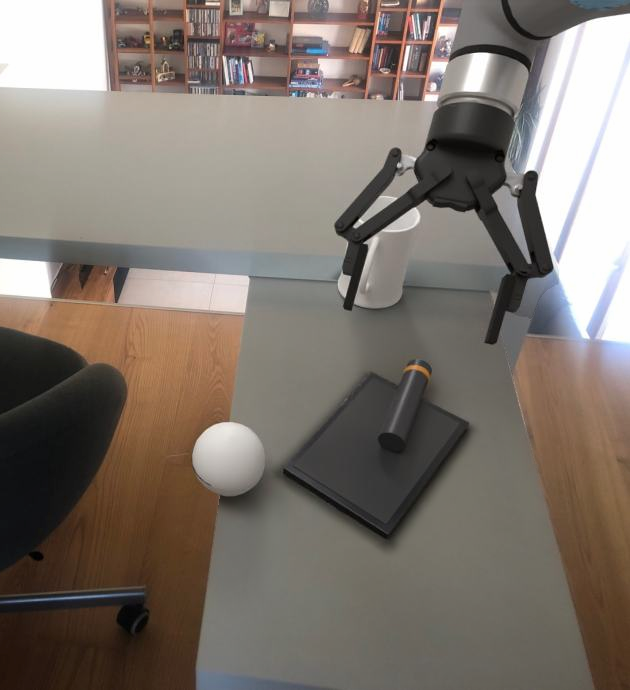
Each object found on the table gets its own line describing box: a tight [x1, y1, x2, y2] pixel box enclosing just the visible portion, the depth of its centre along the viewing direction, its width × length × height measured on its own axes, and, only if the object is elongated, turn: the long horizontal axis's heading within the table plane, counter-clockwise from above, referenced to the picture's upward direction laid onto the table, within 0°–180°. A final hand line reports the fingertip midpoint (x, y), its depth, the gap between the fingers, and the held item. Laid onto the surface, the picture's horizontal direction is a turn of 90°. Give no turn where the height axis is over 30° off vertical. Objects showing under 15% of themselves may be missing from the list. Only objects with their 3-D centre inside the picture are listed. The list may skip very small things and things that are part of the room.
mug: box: [337, 195, 421, 310], centre depth 88 cm, size 12×8×12 cm
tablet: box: [282, 371, 470, 540], centre depth 74 cm, size 12×18×1 cm, turn 139°
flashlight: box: [378, 358, 433, 452], centre depth 75 cm, size 3×3×12 cm
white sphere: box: [165, 421, 267, 497], centre depth 69 cm, size 10×7×7 cm
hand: (416, 326), depth 68 cm, fingers open, 13 cm apart
